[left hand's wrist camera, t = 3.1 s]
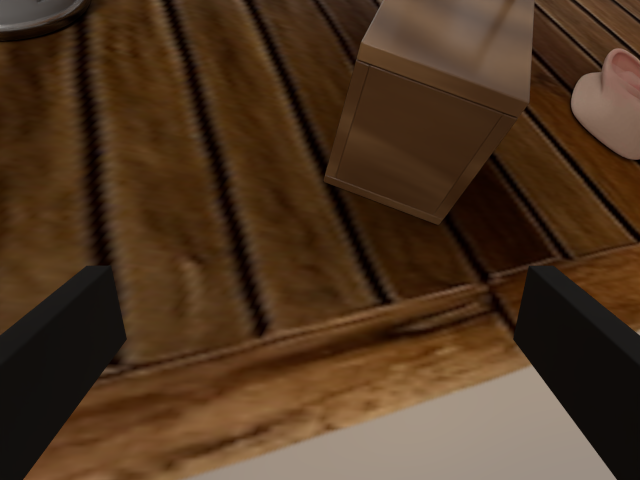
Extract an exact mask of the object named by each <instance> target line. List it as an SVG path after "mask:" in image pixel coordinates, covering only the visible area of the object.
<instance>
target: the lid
mask: <svg viewBox="0 0 640 480" xmlns="http://www.w3.org/2000/svg"><path fill="white" fill-rule="evenodd" d="M533 17H534V0H383V2H382V4H381V6H380V7H379V9H378V11H377V13H376V15H375V17H374V19H373V21H372V23H371V25H370V26H369V28H368V30H367V32H366V34H365V36H364V38H363V40H362V42H361V45H360V48H359V52H358V56H357V59H358V60H361V61H364V62H366V63H369V64H372V65H375V66H377V67H380V68H383V69H386V70H388V71H391V72H394V73H397V74H399V75H402V76H405V77H408V78H410V79H413V80H416V81H418V82H421V83H424V84H427V85H429V86H432V87H435V88H438V89H440V90H443V91H446V92H449V93H451V94H454V95H457V96H460V97H462V98H465V99H468V100H471V101H473V102H476V103H479V104H482V105H484V106H487V107H490V108H493V109H495V110H498V111H501V112H504V113H506V114H509V115H512V116H515V117H519V116H520V115H521V113H522V112H523V110H524V109H525V108H526V106H527V105H528V104H529V94H530V75H531V56H532V36H533Z"/></svg>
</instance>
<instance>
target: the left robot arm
mask: <svg viewBox="0 0 640 480" xmlns="http://www.w3.org/2000/svg"><path fill="white" fill-rule="evenodd" d="M90 2H91V0H0V41H8V40H18V39H25V38H31V37H36V36H40V35H44V34H47V33H50V32H53V31H56V30H58V29H60V28H63V27H65V26H67V25H68V24H70V23H72V22H73V21H75V20H76V19H78V18H79V17H80V16H81V15H82V14H83V13H84V12H85V11H86V10H87V8H88V6H89V4H90ZM126 340H127V338H126V333H125V329H124V324H123V319H122V315H121V310H120V305H119V301H118V296H117V291H116V287H115V282H114V277H113V273H112V268H111V266H86V267H85V268H83V269H82V270H81V271H80V272H78V273H77V274H76V275H75V276H73V277H72V278H71V279H70V280H68V281H67V282H66V283H65V284H64V285H62V286H61V287H60V288H59V289H57V290H56V291H55V292H54V293H52V294H51V295H50V296H49V297H47V298H46V299H45V300H44V301H42V302H41V303H40V304H39V305H37V306H36V307H35V308H34V309H33V310H31V311H30V312H29V313H28V314H26V315H25V316H24V317H23V318H21V319H20V320H19V321H18V322H16V323H15V324H14V325H13V326H11V327H10V328H9V329H8V330H6V331H5V332H4V333H3V334H2V335H0V480H23V479H24V478H25V476H26V475H27V474H28V472H29V471H30V469H31V468H32V467H33V465H34V464H35V463H36V461H37V460H38V459H39V457H40V456H41V455H42V453H43V452H44V451H45V449H46V448H47V446H48V445H49V444H50V442H51V441H52V440H53V438H54V437H55V436H56V434H57V433H58V432H59V430H60V429H61V428H62V426H63V425H64V423H65V422H66V421H67V419H68V418H69V417H70V415H71V414H72V413H73V411H74V410H75V409H76V407H77V406H78V405H79V403H80V402H81V400H82V399H83V398H84V396H85V395H86V394H87V392H88V391H89V390H90V388H91V387H92V386H93V384H94V383H95V382H96V380H97V379H98V377H99V376H100V375H101V373H102V372H103V371H104V369H105V368H106V367H107V365H108V364H109V363H110V361H111V360H112V358H113V357H114V356H115V354H116V353H117V352H118V350H119V349H120V348H121V346H122V345H123V344H124V342H125V341H126ZM513 340H514V341H515V342H516V344H517V345H518V346H519V348H520V349H521V350H522V352H523V353H524V354H525V356H526V357H527V358H528V360H529V361H530V363H531V364H532V365H533V367H534V368H535V369H536V371H537V372H538V373H539V375H540V376H541V377H542V379H543V380H544V381H545V383H546V384H547V386H548V387H549V388H550V390H551V391H552V392H553V394H554V395H555V396H556V398H557V399H558V400H559V402H560V403H561V404H562V406H563V407H564V409H565V410H566V411H567V413H568V414H569V415H570V417H571V418H572V419H573V421H574V422H575V423H576V425H577V426H578V428H579V429H580V430H581V432H582V433H583V434H584V436H585V437H586V438H587V440H588V441H589V442H590V444H591V445H592V446H593V448H594V449H595V451H596V452H597V453H598V455H599V456H600V457H601V459H602V460H603V461H604V463H605V464H606V465H607V467H608V468H609V469H610V471H611V472H612V474H613V475H614V476H615V478H616V479H617V480H640V335H638V334H637V333H636V332H635V331H634V330H632V329H631V328H630V327H629V326H627V325H626V324H625V323H624V322H622V321H621V320H620V319H619V318H617V317H616V316H615V315H614V314H612V313H611V312H610V311H609V310H607V309H606V308H605V307H604V306H603V305H601V304H600V303H599V302H598V301H596V300H595V299H594V298H593V297H591V296H590V295H589V294H588V293H586V292H585V291H584V290H583V289H581V288H580V287H579V286H578V285H576V284H575V283H574V282H573V281H572V280H570V279H569V278H568V277H567V276H565V275H564V274H563V273H562V272H560V271H559V270H558V269H557V268H555V267H554V266H529V268H528V273H527V277H526V282H525V287H524V291H523V296H522V301H521V305H520V310H519V315H518V319H517V324H516V329H515V333H514V338H513Z"/></svg>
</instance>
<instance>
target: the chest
mask: <svg viewBox="0 0 640 480" xmlns="http://www.w3.org/2000/svg"><path fill="white" fill-rule="evenodd" d="M516 120H517V117H515V116H512V115H509V114H506V113H504V112H501V111H498V110H495V109H493V108H490V107H487V106H484V105H482V104H479V103H476V102H473V101H471V100H468V99H465V98H462V97H460V96H457V95H454V94H451V93H449V92H446V91H443V90H440V89H438V88H435V87H432V86H429V85H427V84H424V83H421V82H418V81H416V80H413V79H410V78H408V77H405V76H402V75H399V74H397V73H394V72H391V71H388V70H386V69H383V68H380V67H377V66H375V65H372V64H369V63H366V62H364V61H361V60H358V59H357V60H356V63H355V67H354V70H353V74H352V78H351V81H350V85H349V89H348V92H347V96H346V100H345V104H344V107H343V111H342V115H341V118H340V122H339V126H338V129H337V133H336V137H335V140H334V144H333V148H332V151H331V155H330V159H329V163H328V166H327V170H326V174H325V177H324V182H326V183H328V184H331V185H334V186H336V187H339V188H341V189H344V190H347V191H349V192H352V193H355V194H357V195H360V196H363V197H365V198H368V199H371V200H373V201H376V202H378V203H381V204H384V205H386V206H389V207H392V208H394V209H397V210H400V211H402V212H405V213H408V214H410V215H413V216H415V217H418V218H421V219H423V220H426V221H429V222H431V223H434V224H437V225H439V224H440V223H441V222H442V220H443V219H444V218H445V216H446V215H447V214H448V212H449V211H450V210H451V208H452V207H453V206H454V204H455V203H456V202H457V200H458V199H459V197H460V196H461V195H462V193H463V192H464V191H465V189H466V188H467V187H468V185H469V184H470V183H471V181H472V180H473V178H474V177H475V176H476V174H477V173H478V172H479V170H480V169H481V168H482V166H483V165H484V164H485V162H486V161H487V160H488V158H489V157H490V155H491V154H492V153H493V151H494V150H495V149H496V147H497V146H498V145H499V143H500V142H501V141H502V139H503V138H504V136H505V135H506V134H507V132H508V131H509V130H510V128H511V127H512V126H513V124H514V123H515V122H516Z"/></svg>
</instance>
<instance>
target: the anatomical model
mask: <svg viewBox="0 0 640 480" xmlns="http://www.w3.org/2000/svg"><path fill="white" fill-rule="evenodd" d="M571 108H572V111H573V113H574V115H575V117H576V118H577V120H578V121H579V122H580V123H581V124H582V125H583V126H584V127H585V128H586V129H587V130H588V131H589V132H590V133H591V134H592V135H593V136H594V137H596V138H597V139H598V140H599V141H601V142H602V143H603V144H604V145H606V146H607V147H608V148H610V149H611V150H613V151H614V152H615V153H617V154H619V155H621V156H622V157H625V158H627V159H632V160H638V159H640V60H638V59H637V58H636V57H635V56H633V55H632V54H631V53H629V52H628V51H626V50H623V49H614V50H612V51H611V52H610V53H609V54H608V55H607V57H606V59H605V61H604V64H603V67H602V72H597V73H589V74H586V75H584V76H582V77H581V78H580V79H579V81H578V82H577V84H576V86H575V88H574V91H573V94H572V99H571Z"/></svg>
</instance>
